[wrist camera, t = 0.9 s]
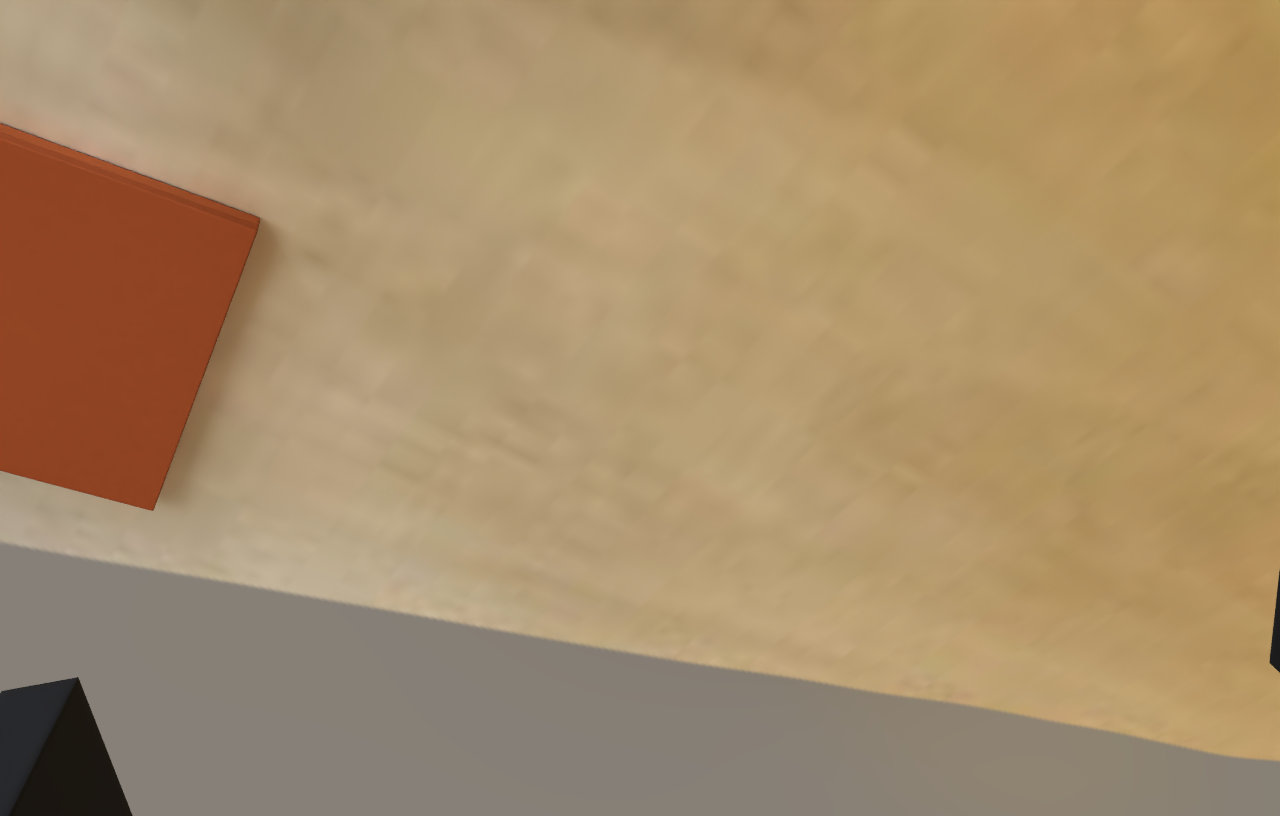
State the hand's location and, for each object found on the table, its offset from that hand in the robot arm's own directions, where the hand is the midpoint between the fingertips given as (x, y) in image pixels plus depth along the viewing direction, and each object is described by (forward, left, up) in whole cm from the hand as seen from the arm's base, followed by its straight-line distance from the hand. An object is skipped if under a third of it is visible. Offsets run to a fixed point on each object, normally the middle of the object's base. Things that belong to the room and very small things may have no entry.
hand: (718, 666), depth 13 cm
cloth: (+17, -13, -26) cm, 33 cm away
